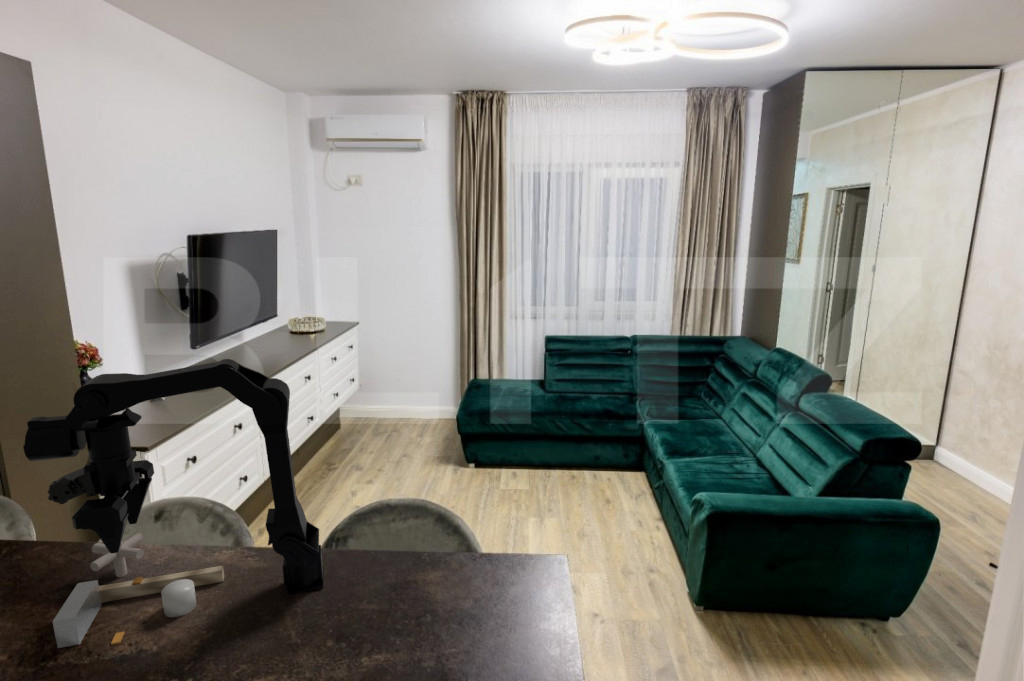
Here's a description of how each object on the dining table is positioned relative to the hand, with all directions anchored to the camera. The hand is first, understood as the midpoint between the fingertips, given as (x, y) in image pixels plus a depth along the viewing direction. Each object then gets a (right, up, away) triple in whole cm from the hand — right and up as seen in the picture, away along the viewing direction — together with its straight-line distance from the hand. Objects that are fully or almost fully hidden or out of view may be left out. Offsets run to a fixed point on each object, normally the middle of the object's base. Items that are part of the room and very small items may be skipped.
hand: (124, 537), depth 97 cm
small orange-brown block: (+1, -16, -3) cm, 16 cm away
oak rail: (0, -13, +9) cm, 16 cm away
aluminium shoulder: (-7, -15, 0) cm, 17 cm away
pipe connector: (-10, -12, +14) cm, 21 cm away
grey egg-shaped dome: (+7, -14, +4) cm, 16 cm away
